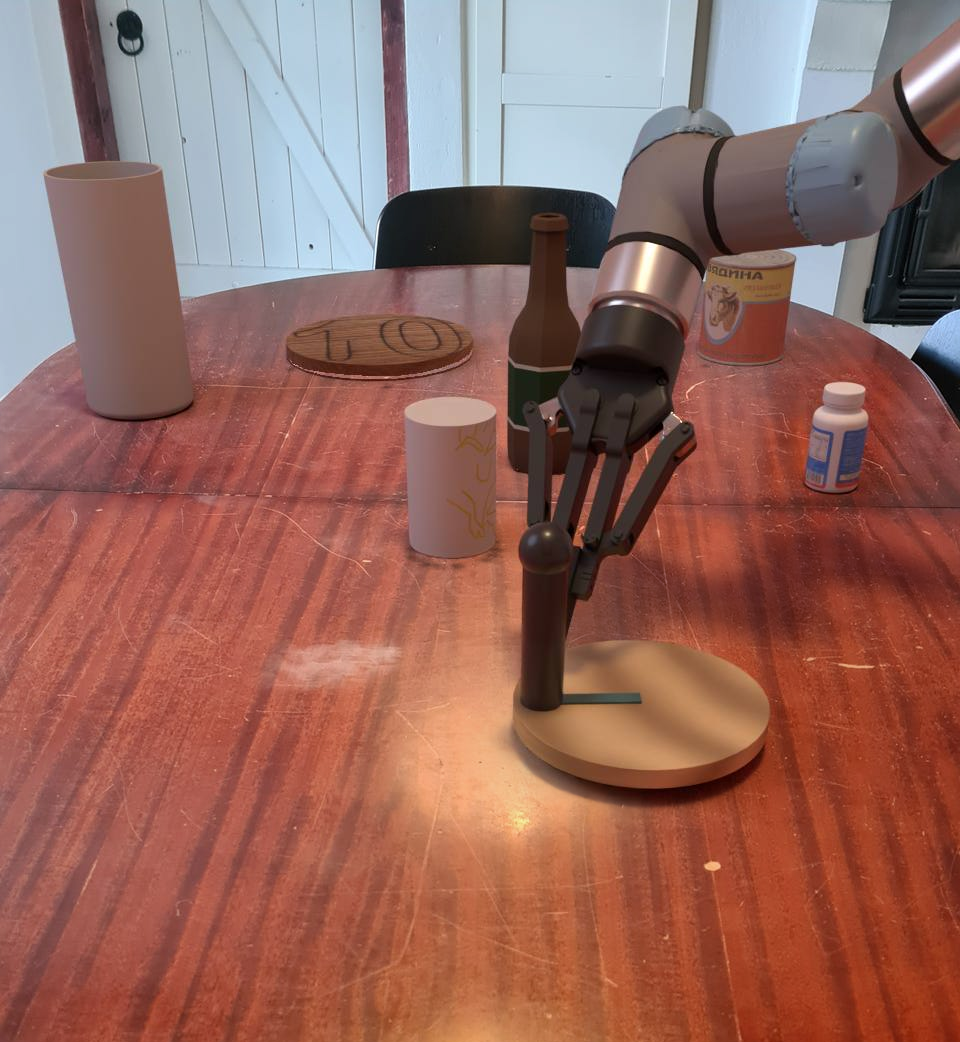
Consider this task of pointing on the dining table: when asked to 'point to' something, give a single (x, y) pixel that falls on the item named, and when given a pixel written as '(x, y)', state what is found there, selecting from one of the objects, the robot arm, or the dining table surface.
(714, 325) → the canned food
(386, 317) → the trivet
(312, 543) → the dining table surface
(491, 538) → the white cylinder
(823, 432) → the pill bottle
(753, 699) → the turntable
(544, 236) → the beer bottle
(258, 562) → the dining table surface
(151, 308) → the cylinder vase
